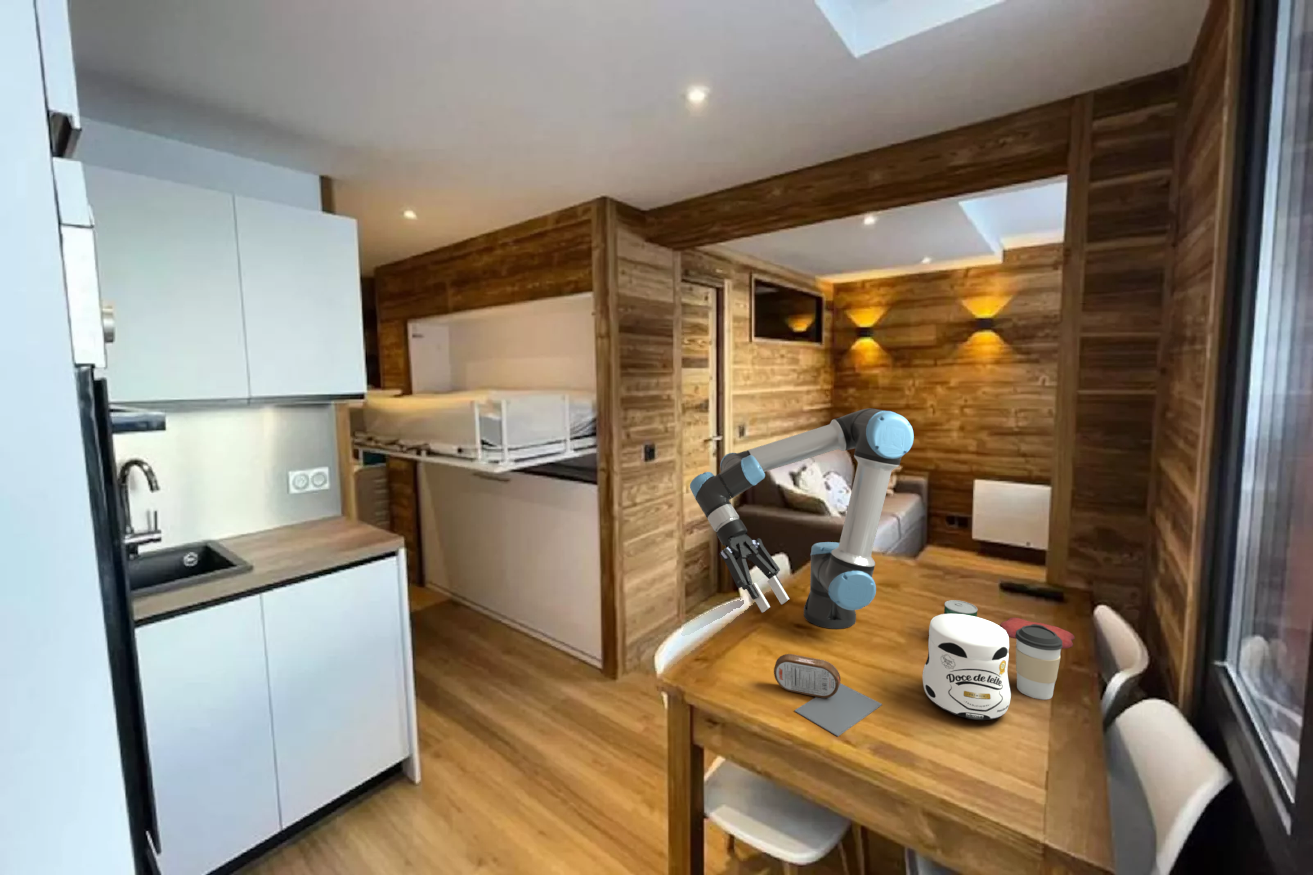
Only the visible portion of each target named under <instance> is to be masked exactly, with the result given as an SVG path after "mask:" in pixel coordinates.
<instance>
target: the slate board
mask: <svg viewBox="0 0 1313 875" xmlns="http://www.w3.org/2000/svg"><path fill="white" fill-rule="evenodd" d="M881 706H883V703H881V702H879V701H878V700H875V699H873V698H871V697H869V696H867V695H865V694H863V693H861V692H859V691H856V690H855V689H852V688H851V687H849V686H847V685H845V684H843V683H841V682H840V685H839V688H838V690H837V692H836V693H835V694H834V695H833V696H831V697H829V698H820V697H815V696H814V698H812V699H810V700H809V701H808V702H806V703H804V704H802V705H801V706H799V707H797V708H795V709H794V712H795V713H797V714H799V715H800V716H802V717H804V718H805V719H807V720H808V721H810V722H812V723H814V724H816V725H818V726H819V727H821V728H822V729H824V730H826V731H827V732H829V733H831V734H833V735H835V736H836V737H839V736H841V735H842V734H843V733H845V732H847V731H848V730H849V729H851V728H852V727H853V726H854V725H856V724H858V723H859V722H861V721H862V720H864V718H866V717H867V716H869V715H870V714H872V713H874V711H876V710H877V709H879V708H880V707H881Z"/></svg>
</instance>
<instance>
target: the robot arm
mask: <svg viewBox="0 0 1313 875" xmlns="http://www.w3.org/2000/svg"><path fill="white" fill-rule="evenodd" d="M914 437H915V436H914V430H913V426H912V425H911V423H910V422H909V421H908V419H907V418H906V417H904V416H903V415H901V414H899V413H896V412H894V411H891V410H883V409H878V408H872V407H871V408H870V407H869V408H864V409H860V410H858V411H854V412H851V413H848V414H846V415H843V416H840V417H838V418H834V419H832V420H831V421H830V423H829V424H827V425H826V424H825V425H823V426H819V427H818V428H814V429H811V430H808V431H803V432H801V433H797V434H794V435H792V436H789V437H786V438H781V439H779V440H776V441H772V442H769V443H765V444H763V445H760V446H757V447H754V448H750V449H747V450H743V451H740V452H737V453H736V452H729V453H726V454H725V455H724V456H723V457H722V458H721V461H720V471H721V472H719V473H717V474H716V475H714V473H712V472H711V471H705V472H703V473H700V474H698V475H697V476H695V477H694V478H693V479H692V480H691V482H690V484H689V489H690V491H691V493H692V496H693V497H694V500H695V501H696V503H697V504H698V506H699V508H700V509H701V510H702V513H703V514H704V516H705V518H706V519H707V520H708V523H709V525H710V526H711V527H712V530H713V531H714V532H716V537H717V538H718V539H719V542H720V543H721V545H722V546H725V548H724V549H722V550H721V551H720V553H719V556H720V558H721V559H722V560H723V561H724V563H725V565H726V567H727V569H728V572H730V575H731V577H732V579H733V581H734V583H735V585H736V587H737V588H738V589H742V590H743V591H745V590H746V591H747V593H748V594H749V596H750V598H751V599H752V600H753V601H754V602H755V603H756V605H757V607H758V608H759V611H760V612H761V613H764V612H766V611H767V610H768V609H769V608H771V606H770V603H769V602H768V600H767V599H766V597H765V595H764V594H763V592H762V591H761V589H760V587H759V585H758V583H757V582H754V583H753V579H752V576H751V572H750V570H749V567H748V562H747V560H748V561H749V562H750V561H751V562H752V564H754V565H755V566H756V567H757V568H758V569H759V571H761V573H762V574H763V575H765V577H766V578H767V579H768V580H767V583H768V585H769V587H770V588H771V590H772V592H773V593H774V595H775V596H776V598H777V600H778V601H779V603H780V605H783V604H785V603H786V602H787V601H788V600H790V597H789V596H788V594H787V592H786V590H785V589H784V586H783V584H782V582H781V580H780V579H779V577H778V576H777V575H778V574H779V572H780V571H781V569H780V567H779V566H778V564H777V563H776V561H775V560H774V558H773V557H772V556H771V554H770V553H769V552H768V550H767V549H766V547H765V546H764V544H763V541H762V539H761V538H757V539H756V540H755V539H752V538H751V537H750V536H749V535H748V528H747V527H746V526H745V524H744V522H743V520H741V519H740V515H739V514H738V513H737V511H736V509H735V508H734V507H733V504H732V503H731V502H730V501H731V499H733V498H735V497H737V496H738V495H740V494H742V493H744V492H745V491H747V490H749V489H750V488H752V487H754V486H756V485H758V483H760V482H761V481H762V480H764V479H765V477H766V473H765V472H768V471H771V470H775V469H777V468H783V467H784V466H788V465H791V464H794V463H797V462H801V461H803V460H807V459H810V458H814V457H817V456H821V455H823V454H824V455H825V454H827V453H830V452H833V451H837V450H840V451H841V452H845V451H849V450H853V449H855V450H854V455H853V456H854V459H855V460H856V462H857V467H856V472H855V475H854V476H855V477H854V479H853V484H852V487H851V488H852V489H851V492H850V497H849V502H848V505H847V508H846V514H845V519H844V523H843V527H842V531H841V536H840V539H839V542H836V541H834V542H833V541H832V542H831V541H825V542H815V543H814V544H813V545H812V546H811V552H810V553H809V554H810V579H809V580H810V588H809V593H808V596H807V598H806V600H805V603H804V607H803V617H804V618H805V620H806V621H807V622H809V623H811V624H812V625H815V626H818V627H820V628H826V629H835V630H837V629H846V628H847V629H848V628H850V627H852V626H854V625H855V624H856V623H857V613H856V612H857V611H858V610H861V609H863V608H864V607H867V606H869V605H870V604H871V602H872V601H873V600H874V599H875V596H876V592H877V587H876V586H877V585H876V582H875V580H874V578H873V575H874V570H875V566H876V562H875V560H874V558H873V557H872V552H873V548H874V544H875V540H876V537H877V533H878V529H879V524H880V520H881V515H882V512H883V507H884V503H885V499H886V495H887V490H888V486H889V483H890V480H891V474H892V472H893V471H894V470H895V469H896V468H898V467H900V464H901V460H902V457H903V456H904V455H906V454H907V453H908V452H909V451H910V450H911V448H912V447H913V444H914V439H915V438H914Z"/></svg>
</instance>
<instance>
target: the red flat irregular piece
mask: <svg viewBox="0 0 1313 875" xmlns="http://www.w3.org/2000/svg"><path fill="white" fill-rule="evenodd" d="M1032 624H1037V625H1042V626H1044V627H1046V628H1047V629H1049V630H1051V631H1053V632H1055V633H1056V634H1057V636H1058V637H1059V638H1060V639H1061V640H1062V645H1063V647H1062V648H1061V649H1070V648H1072V647H1073V646H1074V643H1073V640H1075V635H1074V634H1073V633H1071V632H1070V631H1069V630H1066V629H1063V628H1061V627H1058V626H1056V625H1050V624H1046V623H1043V622H1037V621H1036V622H1034V621H1029V620H1026V619H1023V618H1020V617H1010V618H1008V619H1007V620H1005V621H1002V622H1001V623H1000V625H999V626H1000V627H1002V628H1003V629H1004V630H1005V631H1006V632H1007V634H1008V637H1009V638H1011V639H1016V637H1015V635H1016V631H1017V630H1018V629H1021V628H1022V627H1023V626H1028V625H1032Z"/></svg>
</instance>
